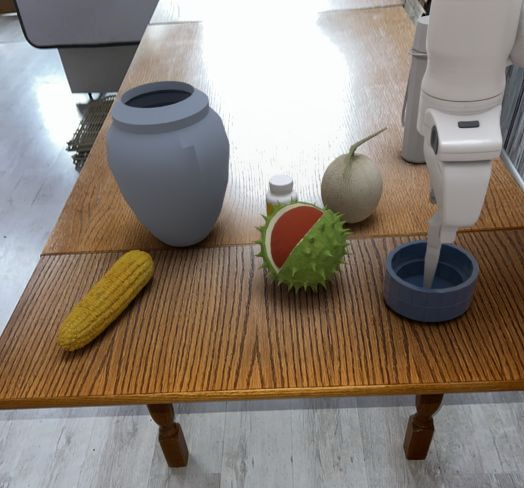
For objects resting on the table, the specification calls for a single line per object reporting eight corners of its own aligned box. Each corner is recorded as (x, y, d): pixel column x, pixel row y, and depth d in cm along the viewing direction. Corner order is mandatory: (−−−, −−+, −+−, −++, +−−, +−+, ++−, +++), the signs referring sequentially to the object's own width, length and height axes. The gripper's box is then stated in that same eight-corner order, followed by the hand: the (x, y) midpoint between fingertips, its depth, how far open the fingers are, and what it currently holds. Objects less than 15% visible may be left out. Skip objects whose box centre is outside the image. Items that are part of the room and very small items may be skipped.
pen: (421, 285, 82) (434, 200, 72) (438, 291, 81) (454, 205, 71) (414, 295, 81) (427, 209, 71) (432, 300, 80) (447, 214, 70)
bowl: (430, 263, 87) (435, 230, 83) (489, 305, 79) (499, 271, 75) (365, 290, 84) (367, 257, 79) (420, 338, 75) (426, 304, 71)
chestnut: (310, 286, 71) (222, 231, 76) (315, 330, 84) (240, 280, 89) (377, 203, 74) (289, 155, 79) (373, 257, 87) (297, 213, 92)
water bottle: (445, 157, 113) (468, 18, 96) (417, 169, 110) (436, 28, 93) (412, 143, 119) (428, 10, 101) (385, 154, 116) (397, 19, 98)
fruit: (311, 232, 96) (310, 149, 86) (330, 200, 104) (331, 120, 93) (370, 240, 93) (376, 155, 83) (385, 207, 101) (393, 125, 90)
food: (133, 271, 92) (125, 241, 88) (162, 277, 90) (155, 246, 86) (54, 356, 78) (39, 324, 74) (86, 365, 76) (73, 333, 72)
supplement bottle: (296, 240, 95) (294, 187, 88) (265, 238, 96) (261, 187, 89) (300, 223, 99) (299, 172, 92) (270, 222, 100) (267, 171, 93)
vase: (212, 275, 89) (187, 124, 72) (110, 258, 95) (64, 115, 78) (255, 214, 102) (242, 74, 85) (163, 202, 108) (133, 69, 91)
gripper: (419, 82, 70) (408, 182, 80) (441, 154, 56) (425, 265, 66) (470, 79, 70) (453, 180, 79) (506, 151, 55) (480, 264, 65)
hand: (440, 219), depth 72 cm, fingers open, 8 cm apart
